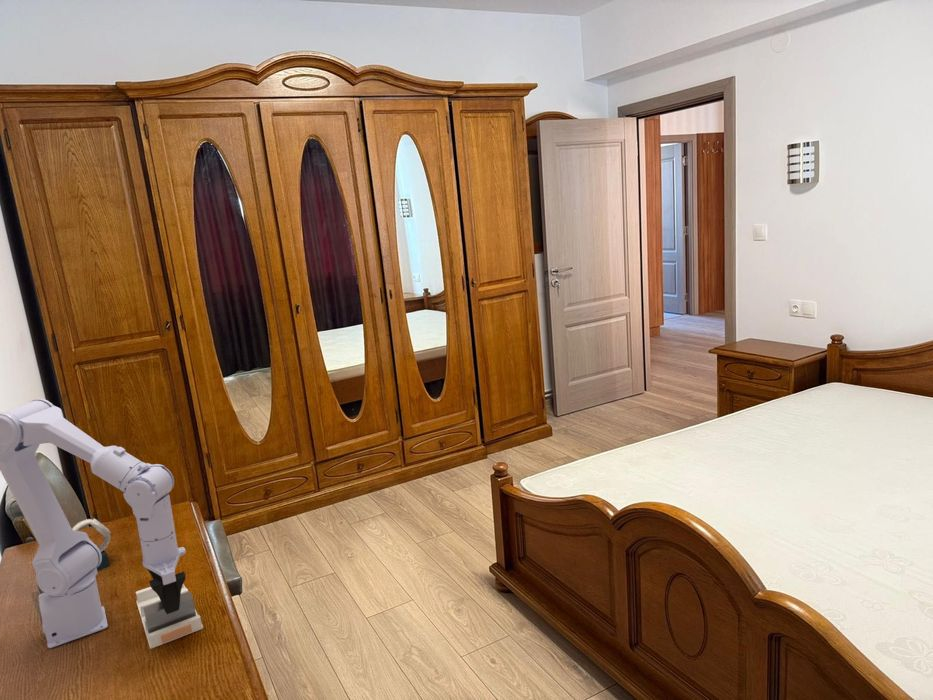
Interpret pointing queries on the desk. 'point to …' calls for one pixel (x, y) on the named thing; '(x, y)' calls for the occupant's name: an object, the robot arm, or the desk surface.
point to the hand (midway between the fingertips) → (168, 601)
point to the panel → (160, 619)
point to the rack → (170, 632)
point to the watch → (104, 532)
